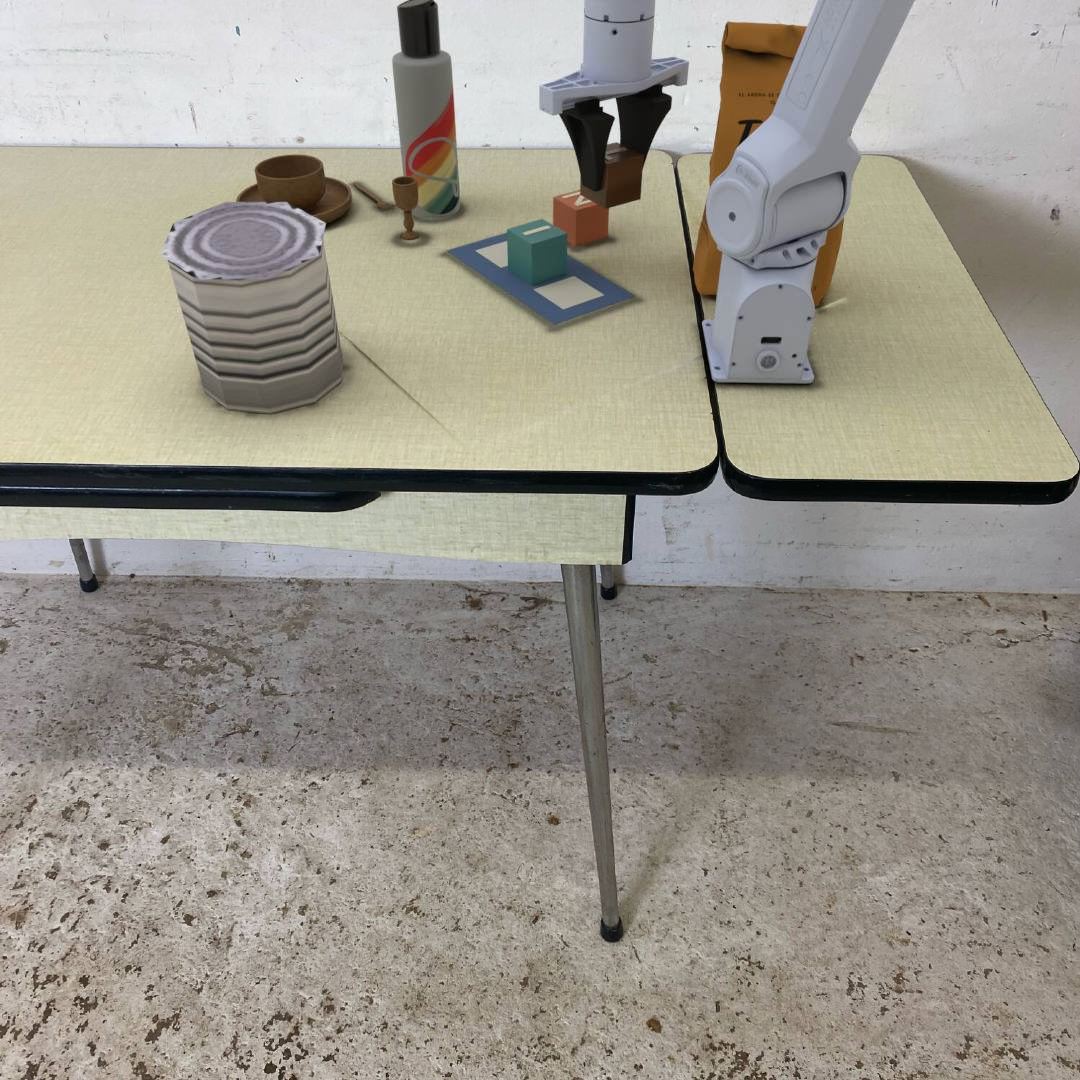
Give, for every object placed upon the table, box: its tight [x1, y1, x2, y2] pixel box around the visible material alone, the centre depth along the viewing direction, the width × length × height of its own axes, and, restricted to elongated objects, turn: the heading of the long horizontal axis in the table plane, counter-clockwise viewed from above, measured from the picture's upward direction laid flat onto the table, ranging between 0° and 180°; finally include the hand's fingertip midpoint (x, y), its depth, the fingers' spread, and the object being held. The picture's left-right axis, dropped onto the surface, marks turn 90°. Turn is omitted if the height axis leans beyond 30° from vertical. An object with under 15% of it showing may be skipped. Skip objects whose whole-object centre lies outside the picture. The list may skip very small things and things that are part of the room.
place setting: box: [235, 154, 421, 241], centre depth 96 cm, size 18×20×6 cm
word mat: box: [446, 232, 636, 326], centre depth 89 cm, size 18×9×1 cm, turn 35°
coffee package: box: [692, 20, 853, 308], centre depth 80 cm, size 10×12×22 cm
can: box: [159, 201, 344, 415], centre depth 72 cm, size 11×11×12 cm
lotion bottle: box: [391, 0, 461, 219], centre depth 94 cm, size 6×6×20 cm
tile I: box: [506, 218, 568, 285], centre depth 87 cm, size 4×4×4 cm
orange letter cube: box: [552, 189, 610, 247], centre depth 94 cm, size 4×4×4 cm
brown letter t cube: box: [579, 141, 644, 209], centre depth 85 cm, size 4×4×4 cm
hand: (611, 182), depth 86 cm, fingers closed on brown letter t cube, 4 cm apart
